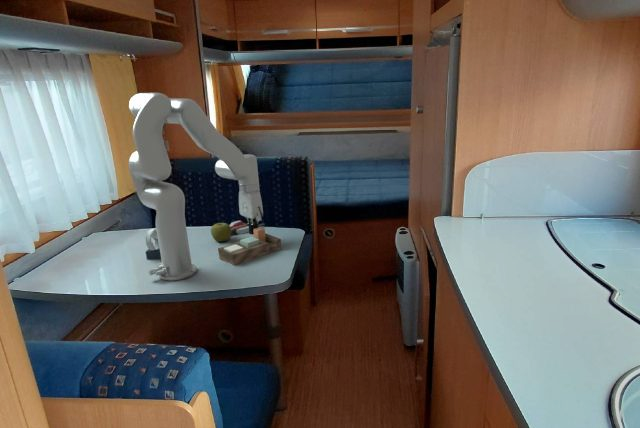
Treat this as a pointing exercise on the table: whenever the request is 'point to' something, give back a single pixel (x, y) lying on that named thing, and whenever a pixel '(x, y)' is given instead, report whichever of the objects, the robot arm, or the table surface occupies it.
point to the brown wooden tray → (250, 250)
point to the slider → (259, 233)
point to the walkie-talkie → (240, 227)
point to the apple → (221, 232)
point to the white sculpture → (152, 250)
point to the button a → (233, 248)
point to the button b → (249, 241)
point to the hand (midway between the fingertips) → (254, 233)
